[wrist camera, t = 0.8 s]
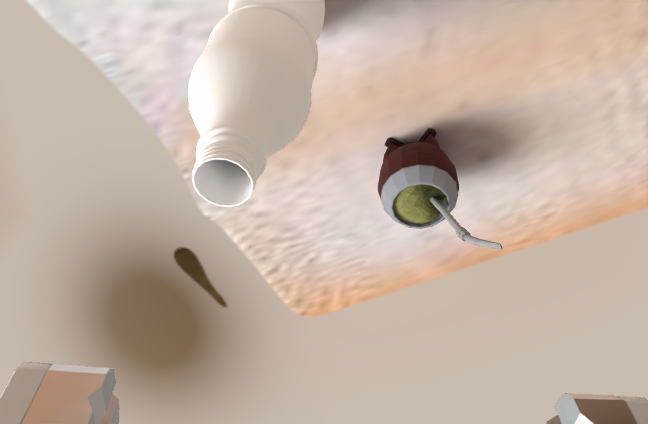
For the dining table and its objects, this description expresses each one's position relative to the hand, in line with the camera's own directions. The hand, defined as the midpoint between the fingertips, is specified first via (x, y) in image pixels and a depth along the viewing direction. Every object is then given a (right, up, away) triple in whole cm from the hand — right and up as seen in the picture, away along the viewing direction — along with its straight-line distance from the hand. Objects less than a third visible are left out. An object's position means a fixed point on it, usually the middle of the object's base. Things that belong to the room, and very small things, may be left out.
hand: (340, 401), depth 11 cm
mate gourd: (+9, +9, +45) cm, 47 cm away
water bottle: (-4, +21, +36) cm, 42 cm away
